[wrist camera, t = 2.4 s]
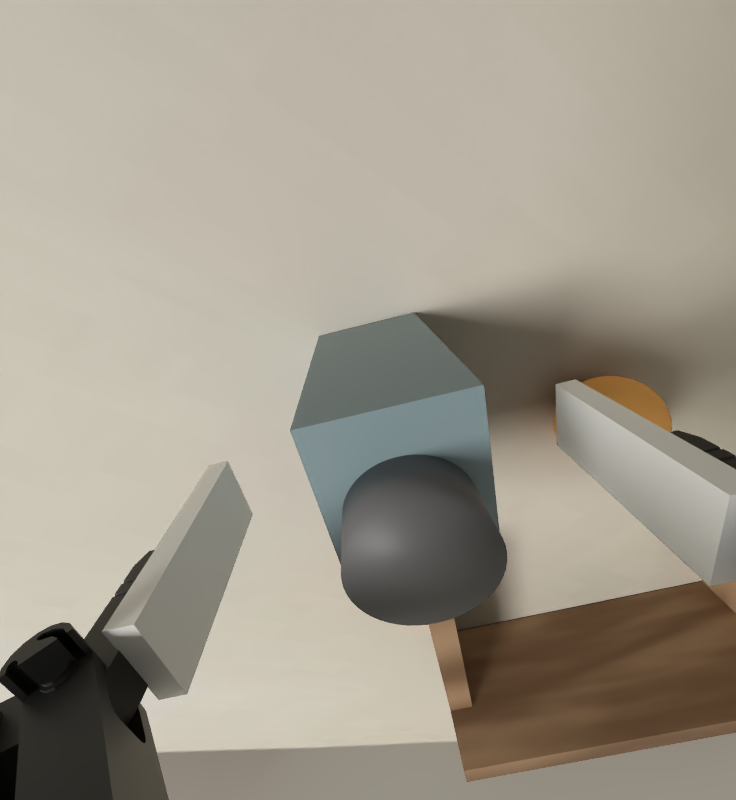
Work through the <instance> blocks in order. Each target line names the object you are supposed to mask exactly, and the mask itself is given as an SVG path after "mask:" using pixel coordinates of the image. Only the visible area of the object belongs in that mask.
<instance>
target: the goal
mask: <svg viewBox="0 0 736 800" xmlns="http://www.w3.org/2000/svg"><path fill="white" fill-rule="evenodd" d="M429 627H430V631H431V635H432V639H433V643H434V647H435V651H436V655H437V659H438V663H439V667H440V670H441V674H442V678H443V682H444V686H445V690H446V694H447V698H448V702H449V706H450V710H451V714H452V718H453V723H454V727H455V732H456V737H457V741H458V746H459V750H460V755H461V759H462V763H463V768H464V772H465V776H466V780H467V782H469V781H474V780H480V779H485V778H490V777H496V776H501V775H506V774H512V773H518V772H523V771H529V770H534V769H539V768H545V767H550V766H556V765H561V764H566V763H572V762H577V761H583V760H588V759H593V758H599V757H604V756H610V755H616V754H621V753H626V752H632V751H637V750H643V749H648V748H653V747H658V746H664V745H670V744H675V743H681V742H686V741H691V740H697V739H703V738H708V737H713V736H719V735H724V734H730V733H735V732H736V581H733V582H728V583H723V584H718V585H713V586H709V585H708V584H707V583H706V582H705V581H704V580H702V581H701V582H696V583H691V584H686V585H681V586H677V587H672V588H667V589H662V590H657V591H652V592H647V593H642V594H637V595H633V596H628V597H623V598H618V599H613V600H608V601H603V602H598V603H593V604H588V605H584V606H579V607H574V608H569V609H564V610H559V611H554V612H549V613H544V614H540V615H535V616H530V617H525V618H520V619H515V620H510V621H505V622H500V623H495V624H491V625H486V626H481V627H476V628H471V629H466V630H461V631H457V629H456V624H455V619H454V618H453V619H450V620H447V621H443V622H439V623H434V624H429Z"/></svg>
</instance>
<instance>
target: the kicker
mask: <svg viewBox="0 0 736 800" xmlns="http://www.w3.org/2000/svg"><path fill="white" fill-rule="evenodd" d="M290 432H291V434H292V437H293V439H294V442H295V445H296V447H297V450H298V453H299V455H300V458H301V461H302V463H303V466H304V469H305V471H306V474H307V476H308V479H309V482H310V484H311V487H312V490H313V492H314V495H315V498H316V500H317V503H318V506H319V508H320V511H321V514H322V516H323V519H324V521H325V524H326V527H327V529H328V532H329V535H330V537H331V540H332V543H333V545H334V548H335V551H336V553H337V556H338V558H339V561H340V564H341V578H342V584H343V587H344V590H345V592H346V594H347V596H348V597H349V598H350V600H351V601H352V602H353V603H354V604H355V605H356V606H357V607H358V608H359V609H361V610H362V611H363V612H365V613H366V614H368V615H370V616H372V617H374V618H377V619H379V620H382V621H385V622H389V623H394V624H400V625H428V624H434V623H439V622H443V621H447V620H450V619H453V618H456V617H458V616H460V615H463V614H465V613H467V612H468V611H470V610H472V609H474V608H475V607H477V606H478V605H480V604H481V603H482V602H483V601H484V600H486V599H487V598H488V597H489V596H490V595H491V594H492V593H493V592H494V590H495V589H496V588H497V586H498V585H499V583H500V581H501V580H502V578H503V576H504V573H505V570H506V565H507V550H506V546H505V543H504V541H503V538H502V536H501V534H500V532H499V524H498V514H497V505H496V495H495V485H494V476H493V466H492V457H491V447H490V437H489V428H488V418H487V409H486V399H485V389H484V384H483V383H482V382H481V381H480V380H479V379H478V378H477V377H476V376H475V375H474V374H473V373H472V372H471V371H470V370H469V369H468V368H467V367H466V366H465V365H464V364H463V363H462V361H461V360H460V359H459V358H458V357H457V356H456V355H455V354H454V353H453V352H452V351H451V350H450V349H449V348H448V347H447V346H446V345H445V344H444V343H443V342H442V341H441V340H440V339H439V338H438V337H437V336H436V335H435V334H434V333H433V332H432V331H431V329H430V328H429V327H428V326H427V325H426V324H425V323H424V322H423V321H422V320H421V319H420V318H419V317H418V316H417V315H416V314H415V313H410V314H406V315H402V316H398V317H394V318H390V319H386V320H382V321H378V322H374V323H369V324H365V325H361V326H357V327H353V328H349V329H345V330H341V331H337V332H333V333H329V334H325V335H321V336H319V338H318V341H317V345H316V348H315V351H314V354H313V358H312V361H311V364H310V367H309V371H308V374H307V377H306V380H305V384H304V387H303V390H302V393H301V397H300V400H299V403H298V406H297V410H296V413H295V416H294V420H293V423H292V426H291V429H290Z"/></svg>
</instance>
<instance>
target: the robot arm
mask: <svg viewBox="0 0 736 800" xmlns="http://www.w3.org/2000/svg"><path fill="white" fill-rule="evenodd" d="M556 428H557V445H558V446H559V447H560V448H561V449H562V450H563V451H564V452H565V453H566V454H567V455H568V456H570V457H571V458H572V459H573V460H574V461H575V462H576V463H577V464H578V465H579V466H580V467H581V468H583V469H584V470H585V471H586V472H587V473H588V474H589V475H590V476H591V477H592V478H593V479H594V480H596V481H597V482H598V483H599V484H600V485H601V486H602V487H603V488H604V489H605V490H606V491H607V492H608V493H610V494H611V495H612V496H613V497H614V498H615V499H616V500H617V501H618V502H619V503H620V504H621V505H623V506H624V507H625V508H626V509H627V510H628V511H629V512H630V513H631V514H632V515H633V516H634V517H636V518H637V519H638V520H639V521H640V522H641V523H642V524H643V525H644V526H645V527H646V528H647V529H649V530H650V531H651V532H652V533H653V534H654V535H655V536H656V537H657V538H658V539H659V540H660V541H661V542H663V543H664V544H665V545H666V546H667V547H668V548H669V549H670V550H671V551H672V552H673V553H674V554H676V555H677V556H678V557H679V558H680V559H681V560H682V561H683V562H684V563H685V564H686V565H687V566H689V567H690V568H691V569H692V570H693V571H694V572H695V573H696V574H697V575H698V576H699V577H700V578H701V579H703V580H704V581H705V582H706V583H707V584H708V585H709V586H713V585H718V584H723V583H728V582H733V581H736V457H735V455H733V454H732V453H730V452H728V451H726V450H724V449H722V450H721V449H720V447H718V446H716V445H714V444H713V443H711V442H709V441H707V440H705V439H703V438H701V437H698V436H695V435H691V434H688V433H685V432H681V431H673V432H668V431H667V430H665V429H663V428H661V427H659V426H658V425H656V424H654V423H652V422H651V421H649V420H647V419H645V418H643V417H642V416H640V415H638V414H636V413H634V412H633V411H631V410H629V409H627V408H626V407H624V406H622V405H620V404H618V403H617V402H615V401H613V400H611V399H610V398H608V397H606V396H604V395H602V394H601V393H599V392H597V391H595V390H594V389H592V388H590V387H588V386H586V385H585V384H583V383H581V382H579V381H577V380H576V379H575V380H571V381H566V382H562V383H558V384H556ZM251 517H252V512H251V510H250V507H249V505H248V503H247V501H246V499H245V497H244V495H243V493H242V490H241V488H240V486H239V484H238V482H237V480H236V478H235V476H234V474H233V471H232V469H231V467H230V465H229V463H228V461H227V462H223V463H218V464H214V465H210V466H209V467H208V469H207V470H206V472H205V473H204V475H203V476H202V478H201V479H200V481H199V482H198V484H197V486H196V487H195V489H194V490H193V492H192V493H191V495H190V496H189V498H188V499H187V501H186V502H185V504H184V506H183V507H182V509H181V510H180V512H179V513H178V515H177V516H176V518H175V519H174V521H173V523H172V524H171V526H170V527H169V529H168V530H167V532H166V533H165V535H164V536H163V538H162V539H161V541H160V543H159V544H158V546H157V547H156V549H155V550H152V551H149V552H148V553H147V554H146V555H145V556H144V557H143V558H142V559H141V560H140V561H139V562H138V563H137V564H136V565H135V566H134V567H133V568H132V570H131V571H130V573H129V574H128V576H127V577H126V579H125V580H124V584H121V586H120V587H119V589H118V590H117V592H116V593H115V597H113V598H112V599H111V601H110V602H109V604H108V605H107V606H106V608H105V609H104V611H103V612H102V614H101V615H100V617H99V618H98V620H97V621H96V623H95V624H94V626H93V627H92V628H91V630H90V631H89V633H88V634H87V636H86V637H85V639H83V638H82V637H81V636H80V634H79V633H78V632H77V631H76V630H75V629H74V628H73V626H72V625H71V624H70V623H59V624H55V625H52V626H50V627H48V628H46V629H44V630H43V631H41V632H39V633H37V634H36V635H34V636H33V637H32V638H30V639H29V640H28V641H26V642H25V643H24V644H23V645H22V646H21V647H20V648H19V649H18V650H17V651H15V652H14V653H13V654H12V655H11V656H10V658H9V659H8V660H7V662H6V663H5V664H4V666H3V667H2V668H1V671H0V683H1V684H2V685H4V686H5V687H6V688H7V689H8V690H9V691H10V692H11V693H13V694H14V695H15V696H14V697H12V698H10V699H8V700H6V701H4V702H2V703H0V800H169V799H168V795H167V792H166V787H165V783H164V779H163V776H162V772H161V768H160V764H159V760H158V756H157V752H156V748H155V744H154V740H153V736H152V733H151V729H150V725H149V721H148V717H147V713H146V710H145V709H144V708H143V706H142V705H141V704H140V702H141V700H142V698H143V696H144V693H145V691H146V689H147V687H148V688H149V689H150V690H151V691H152V693H153V694H154V695H155V696H156V697H157V698H158V700H160V699H165V698H170V697H175V696H180V695H185V694H187V693H188V690H189V687H190V685H191V682H192V679H193V676H194V674H195V671H196V668H197V665H198V663H199V660H200V657H201V654H202V652H203V649H204V646H205V643H206V641H207V638H208V635H209V632H210V630H211V627H212V624H213V622H214V619H215V616H216V613H217V611H218V608H219V605H220V602H221V600H222V597H223V594H224V591H225V589H226V586H227V583H228V580H229V578H230V575H231V572H232V569H233V567H234V564H235V561H236V558H237V556H238V553H239V550H240V547H241V545H242V542H243V539H244V536H245V534H246V531H247V528H248V525H249V523H250V520H251Z"/></svg>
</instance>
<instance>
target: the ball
mask: <svg viewBox="0 0 736 800" xmlns="http://www.w3.org/2000/svg"><path fill="white" fill-rule="evenodd" d="M581 383H583V384H585V385H586V386H588V387H590V388H592V389H594V390H595V391H597V392H599V393H601V394H602V395H604V396H606V397H608V398H610V399H611V400H613V401H615V402H617V403H618V404H620V405H622V406H624V407H626V408H627V409H629V410H631V411H633V412H634V413H636V414H638V415H640V416H642V417H643V418H645V419H647V420H649V421H651V422H652V423H654V424H656V425H658V426H659V427H661V428H663V429H665V430H667V431H668V432H671V431H672V421H671V416H670V413H669V410H668V408H667V406H666V404H665V403H664V401H663V400H662V399H661V397H660V396H659V395H658V394H657V393H656V392H655V391H653V390H652V389H651V388H650V387H648V386H646V385H645V384H643V383H641V382H639V381H636V380H633V379H631V378H626V377H621V376H600V377H594V378H591V379H588V380H585V381H583V382H581ZM554 431H555V435H556V438H557V428H556V410H555V414H554Z"/></svg>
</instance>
